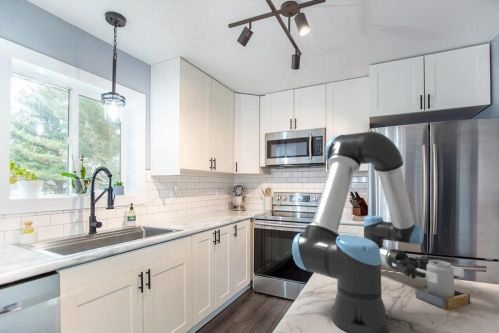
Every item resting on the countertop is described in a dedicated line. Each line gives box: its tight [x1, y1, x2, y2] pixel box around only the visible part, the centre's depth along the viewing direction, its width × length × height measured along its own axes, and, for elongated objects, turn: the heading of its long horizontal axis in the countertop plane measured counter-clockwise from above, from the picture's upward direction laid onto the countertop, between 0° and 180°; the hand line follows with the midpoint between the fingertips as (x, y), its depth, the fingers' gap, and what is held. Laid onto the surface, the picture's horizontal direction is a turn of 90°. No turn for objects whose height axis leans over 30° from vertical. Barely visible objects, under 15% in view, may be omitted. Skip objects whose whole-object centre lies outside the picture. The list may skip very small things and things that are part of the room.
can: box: [426, 259, 455, 299], centre depth 91 cm, size 8×8×12 cm
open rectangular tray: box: [415, 288, 472, 311], centre depth 90 cm, size 12×10×3 cm
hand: (450, 276), depth 88 cm, fingers open, 13 cm apart
